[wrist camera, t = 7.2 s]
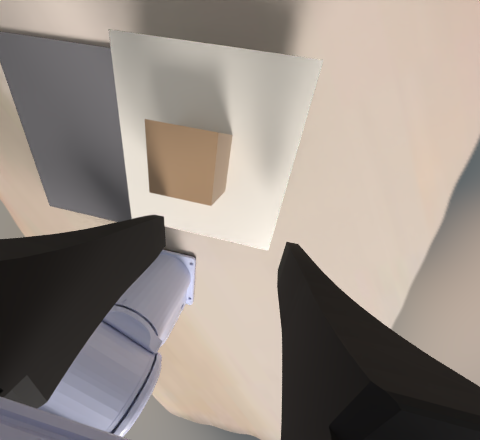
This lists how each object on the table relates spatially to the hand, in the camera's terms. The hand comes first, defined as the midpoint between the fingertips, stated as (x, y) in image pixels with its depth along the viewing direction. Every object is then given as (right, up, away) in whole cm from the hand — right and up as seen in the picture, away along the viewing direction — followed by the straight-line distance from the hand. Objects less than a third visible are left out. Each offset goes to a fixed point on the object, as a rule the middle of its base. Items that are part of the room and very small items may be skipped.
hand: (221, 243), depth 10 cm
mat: (-17, +10, +10) cm, 22 cm away
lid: (-2, +6, +4) cm, 7 cm away
